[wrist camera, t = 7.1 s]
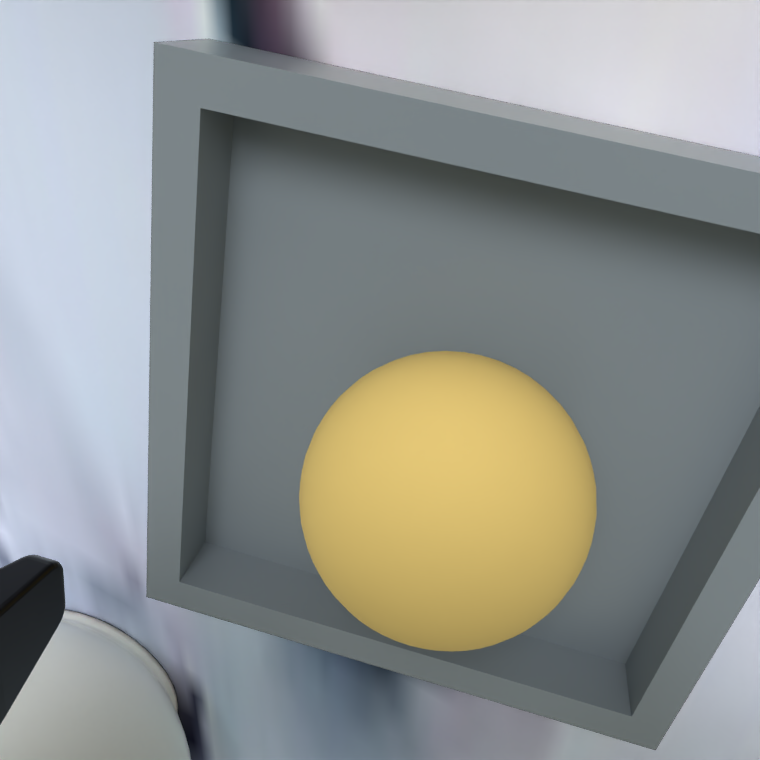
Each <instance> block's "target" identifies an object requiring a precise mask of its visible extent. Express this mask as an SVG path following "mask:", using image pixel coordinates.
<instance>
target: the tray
mask: <svg viewBox="0 0 760 760" xmlns="http://www.w3.org/2000/svg"><path fill="white" fill-rule="evenodd" d="M433 351H456V352H466V353H472V354H477V355H482V356H485V357H489V358H492V359H495V360H498V361H501V362H503V363H505V364H507V365H510V366H512V367H514V368H516V369H518V370H519V371H521V372H523V373H524V374H526V375H528V376H529V377H531V378H532V379H533V380H535V381H536V382H537V383H539V384H540V385H541V386H542V387H544V388H545V389H546V390H547V391H548V392H549V393H550V394H551V395H552V396H553V397H554V398H555V399H556V400H557V401H558V402H559V403H560V404H561V406H562V407H563V408H564V410H565V411H566V412H567V414H568V415H569V416H570V418H571V419H572V421H573V423H574V424H575V426H576V428H577V430H578V432H579V434H580V436H581V437H582V439H583V441H584V443H585V446H586V449H587V451H588V454H589V457H590V460H591V464H592V468H593V472H594V478H595V483H596V508H597V516H596V523H595V529H594V534H593V539H592V544H591V547H590V550H589V553H588V556H587V559H586V561H585V563H584V565H583V567H582V570H581V572H580V573H579V575H578V577H577V579H576V581H575V583H574V584H573V586H572V587H571V588H570V589H569V591H568V592H567V593H566V595H565V596H564V597H563V599H562V600H561V601H560V602H559V604H558V605H557V606H556V607H555V608H554V609H553V610H552V611H551V612H550V613H549V614H548V615H547V616H545V617H544V618H543V619H541V620H540V621H539V622H538V623H536V624H535V625H533V626H532V627H531V628H529V629H528V630H526V631H524V632H523V633H521V634H519V635H517V636H515V637H513V638H510V639H508V640H505V641H503V642H500V643H498V644H495V645H492V646H488V647H484V648H481V649H475V650H468V651H435V650H428V649H422V648H417V647H413V646H409V645H406V644H403V643H400V642H397V641H395V640H392V639H390V638H388V637H386V636H383V635H381V634H380V633H378V632H376V631H374V630H372V629H371V628H369V627H368V626H366V625H365V624H363V623H362V622H361V621H359V620H358V619H357V618H356V617H354V616H353V615H352V614H351V613H350V612H349V611H348V610H347V609H346V608H345V607H344V606H343V605H342V604H341V603H340V602H339V601H338V600H337V599H336V598H335V597H334V595H333V594H332V593H331V591H330V590H329V589H328V587H327V586H326V585H325V583H324V581H323V580H322V578H321V576H320V574H319V573H318V571H317V569H316V567H315V565H314V563H313V561H312V559H311V556H310V554H309V551H308V549H307V545H306V541H305V538H304V534H303V530H302V526H301V517H300V505H299V491H300V480H301V473H302V468H303V464H304V459H305V455H306V453H307V450H308V447H309V445H310V442H311V440H312V438H313V435H314V433H315V430H316V429H317V427H318V425H319V424H320V422H321V420H322V419H323V417H324V416H325V414H326V413H327V411H328V410H329V408H330V407H331V406H332V405H333V404H334V402H335V401H336V400H337V399H338V398H339V397H340V395H342V394H343V393H344V392H345V391H346V390H347V389H348V388H349V387H351V386H352V385H353V384H354V383H355V382H356V381H358V380H359V379H360V378H361V377H363V376H365V375H366V374H368V373H369V372H371V371H372V370H374V369H376V368H378V367H381V366H383V365H385V364H387V363H389V362H391V361H394V360H396V359H399V358H403V357H406V356H409V355H413V354H419V353H424V352H433ZM759 579H760V157H759V156H754V155H749V154H745V153H740V152H735V151H731V150H726V149H721V148H717V147H712V146H707V145H703V144H698V143H693V142H689V141H684V140H679V139H675V138H670V137H665V136H661V135H656V134H651V133H647V132H642V131H637V130H633V129H628V128H623V127H619V126H614V125H609V124H605V123H600V122H595V121H591V120H586V119H581V118H577V117H572V116H567V115H563V114H558V113H553V112H549V111H544V110H539V109H535V108H530V107H525V106H521V105H516V104H511V103H507V102H502V101H497V100H493V99H488V98H483V97H479V96H474V95H469V94H465V93H460V92H455V91H451V90H446V89H441V88H437V87H432V86H427V85H423V84H418V83H413V82H409V81H404V80H399V79H395V78H390V77H385V76H381V75H376V74H371V73H367V72H362V71H357V70H353V69H348V68H343V67H339V66H334V65H329V64H325V63H320V62H315V61H311V60H306V59H301V58H297V57H292V56H287V55H282V54H278V53H273V52H268V51H264V50H259V49H254V48H250V47H245V46H240V45H236V44H231V43H226V42H222V41H217V40H212V39H196V40H180V41H163V42H154V71H153V146H152V221H151V296H150V370H149V445H148V520H147V594H146V597H148V598H152V599H155V600H158V601H162V602H165V603H168V604H172V605H175V606H178V607H182V608H185V609H188V610H192V611H195V612H198V613H202V614H205V615H208V616H212V617H215V618H218V619H222V620H225V621H228V622H231V623H235V624H238V625H241V626H245V627H248V628H251V629H255V630H258V631H261V632H265V633H268V634H271V635H275V636H278V637H281V638H285V639H288V640H291V641H295V642H298V643H301V644H305V645H308V646H311V647H314V648H318V649H321V650H324V651H328V652H331V653H334V654H338V655H341V656H344V657H348V658H351V659H354V660H358V661H361V662H364V663H368V664H371V665H374V666H378V667H381V668H384V669H388V670H391V671H394V672H397V673H401V674H404V675H407V676H411V677H414V678H417V679H421V680H424V681H427V682H431V683H434V684H437V685H441V686H444V687H447V688H451V689H454V690H457V691H461V692H464V693H467V694H471V695H474V696H477V697H480V698H484V699H487V700H490V701H494V702H497V703H500V704H504V705H507V706H510V707H514V708H517V709H520V710H524V711H527V712H530V713H534V714H537V715H540V716H544V717H547V718H550V719H554V720H557V721H560V722H563V723H567V724H570V725H573V726H577V727H580V728H583V729H587V730H590V731H593V732H597V733H600V734H603V735H607V736H610V737H613V738H617V739H620V740H623V741H627V742H630V743H633V744H637V745H640V746H643V747H646V748H650V749H653V750H656V749H657V747H658V745H659V744H660V742H661V740H662V739H663V737H664V735H665V734H666V732H667V731H668V729H669V727H670V726H671V724H672V722H673V721H674V719H675V717H676V716H677V714H678V712H679V711H680V709H681V707H682V706H683V704H684V703H685V701H686V699H687V698H688V696H689V694H690V693H691V691H692V689H693V688H694V686H695V684H696V683H697V681H698V680H699V678H700V676H701V675H702V673H703V671H704V670H705V668H706V666H707V665H708V663H709V661H710V660H711V658H712V656H713V655H714V653H715V652H716V650H717V648H718V647H719V645H720V643H721V642H722V640H723V638H724V637H725V635H726V633H727V632H728V630H729V629H730V627H731V625H732V624H733V622H734V620H735V619H736V617H737V615H738V614H739V612H740V610H741V609H742V607H743V605H744V604H745V602H746V601H747V599H748V597H749V596H750V594H751V592H752V591H753V589H754V587H755V586H756V584H757V582H758V581H759Z"/></svg>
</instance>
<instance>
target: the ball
mask: <svg viewBox="0 0 760 760" xmlns="http://www.w3.org/2000/svg"><path fill="white" fill-rule="evenodd" d="M299 505H300V517H301V526H302V530H303V534H304V538H305V541H306V545H307V549H308V551H309V554H310V556H311V559H312V561H313V563H314V565H315V567H316V569H317V571H318V573H319V574H320V576H321V578H322V580H323V581H324V583H325V585H326V586H327V587H328V589H329V590H330V591H331V593H332V594H333V595H334V597H335V598H336V599H337V600H338V601H339V602H340V603H341V604H342V605H343V606H344V607H345V608H346V609H347V610H348V611H349V612H350V613H351V614H352V615H353V616H354V617H356V618H357V619H358V620H359V621H361V622H362V623H363V624H365V625H366V626H368V627H369V628H371V629H372V630H374V631H376V632H378V633H380V634H381V635H383V636H386V637H388V638H390V639H392V640H395V641H397V642H400V643H403V644H406V645H409V646H413V647H417V648H422V649H428V650H435V651H468V650H475V649H481V648H484V647H488V646H492V645H495V644H498V643H500V642H503V641H505V640H508V639H510V638H513V637H515V636H517V635H519V634H521V633H523V632H524V631H526V630H528V629H529V628H531V627H532V626H533V625H535V624H536V623H538V622H539V621H540V620H541V619H543V618H544V617H545V616H547V615H548V614H549V613H550V612H551V611H552V610H553V609H554V608H555V607H556V606H557V605H558V604H559V602H560V601H561V600H562V599H563V597H564V596H565V595H566V593H567V592H568V591H569V589H570V588H571V587H572V586H573V584H574V583H575V581H576V579H577V577H578V575H579V573H580V572H581V570H582V567H583V565H584V563H585V561H586V559H587V556H588V553H589V550H590V547H591V544H592V539H593V534H594V529H595V523H596V516H597V508H596V483H595V478H594V472H593V468H592V464H591V460H590V457H589V454H588V451H587V449H586V446H585V443H584V441H583V439H582V437H581V436H580V434H579V432H578V430H577V428H576V426H575V424H574V423H573V421H572V419H571V418H570V416H569V415H568V414H567V412H566V411H565V410H564V408H563V407H562V406H561V404H560V403H559V402H558V401H557V400H556V399H555V398H554V397H553V396H552V395H551V394H550V393H549V392H548V391H547V390H546V389H545V388H544V387H542V386H541V385H540V384H539V383H537V382H536V381H535V380H533V379H532V378H531V377H529V376H528V375H526V374H524V373H523V372H521V371H519V370H518V369H516V368H514V367H512V366H510V365H507V364H505V363H503V362H501V361H498V360H495V359H492V358H489V357H485V356H482V355H477V354H472V353H466V352H456V351H433V352H424V353H419V354H413V355H409V356H406V357H403V358H399V359H396V360H394V361H391V362H389V363H387V364H385V365H383V366H381V367H378V368H376V369H374V370H372V371H371V372H369V373H368V374H366V375H365V376H363V377H361V378H360V379H359V380H358V381H356V382H355V383H354V384H353V385H352V386H351V387H349V388H348V389H347V390H346V391H345V392H344V393H343V394H342V395H340V397H339V398H338V399H337V400H336V401H335V402H334V404H333V405H332V406H331V407H330V408H329V410H328V411H327V413H326V414H325V416H324V417H323V419H322V420H321V422H320V424H319V425H318V427H317V429H316V430H315V433H314V435H313V438H312V440H311V442H310V445H309V447H308V450H307V453H306V455H305V459H304V464H303V468H302V473H301V480H300V491H299Z"/></svg>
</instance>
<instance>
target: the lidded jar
mask: <svg viewBox="0 0 760 760" xmlns="http://www.w3.org/2000/svg"><path fill="white" fill-rule="evenodd" d="M0 760H191V757H190V750H189V747H188V743H187V739H186V736H185V732H184V730H183V727H182V724H181V721H180V719H179V716H178V702H177V695H176V693H175V690H174V687H173V684H172V682H171V681H170V679H169V677H168V675H167V673H166V672H165V671H164V669H163V668H162V667H161V665H160V664H159V662H158V661H157V660H156V659H155V658H154V657H153V656H152V655H151V654H150V653H149V652H148V651H147V650H146V649H145V648H144V647H142V646H141V645H140V644H139V643H138V642H137V641H135V640H134V639H132V638H131V637H130V636H128V635H127V634H125V633H124V632H122V631H121V630H119V629H117V628H115V627H113V626H112V625H110V624H108V623H106V622H103V621H101V620H99V619H96V618H94V617H91V616H88V615H85V614H82V613H79V612H74V611H69V610H65V611H64V614H63V617H62V620H61V622H60V624H59V626H58V628H57V629H56V631H55V633H54V634H53V636H52V638H51V640H50V641H49V643H48V645H47V646H46V648H45V650H44V652H43V653H42V655H41V657H40V658H39V660H38V662H37V664H36V665H35V667H34V669H33V670H32V672H31V674H30V676H29V677H28V679H27V681H26V682H25V684H24V686H23V688H22V689H21V691H20V693H19V694H18V696H17V698H16V700H15V701H14V703H13V705H12V706H11V708H10V710H9V712H8V713H7V715H6V717H5V718H4V720H3V721H2V723H1V725H0Z"/></svg>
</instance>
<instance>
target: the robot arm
mask: <svg viewBox="0 0 760 760" xmlns="http://www.w3.org/2000/svg"><path fill="white" fill-rule="evenodd" d="M64 611H65V592H64V577H63V568H62V566H61V564H60V563H59V562H57V561H55V560H51V559H48V558H45V557H41V556H38V555H28V556H25V557H22V558H20V559H18V560H16V561H14V562H12V563H10V564H8V565H6V566H4V567H2V568H0V725H1V723H2V721H3V720H4V718H5V717H6V715H7V713H8V712H9V710H10V708H11V706H12V705H13V703H14V701H15V700H16V698H17V696H18V694H19V693H20V691H21V689H22V688H23V686H24V684H25V682H26V681H27V679H28V677H29V676H30V674H31V672H32V670H33V669H34V667H35V665H36V664H37V662H38V660H39V658H40V657H41V655H42V653H43V652H44V650H45V648H46V646H47V645H48V643H49V641H50V640H51V638H52V636H53V634H54V633H55V631H56V629H57V628H58V626H59V624H60V622H61V620H62V617H63V614H64Z"/></svg>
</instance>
